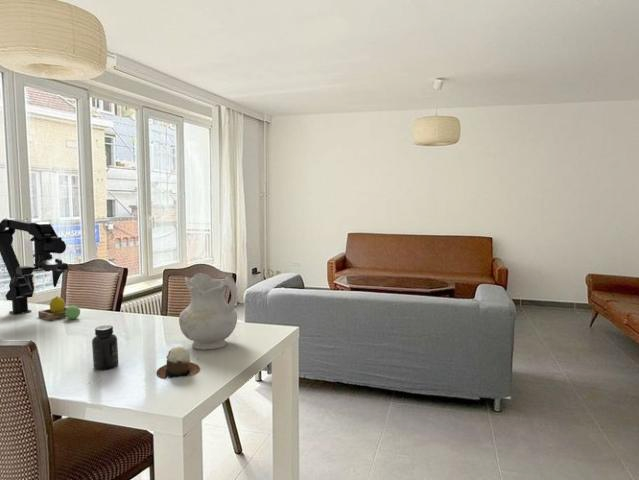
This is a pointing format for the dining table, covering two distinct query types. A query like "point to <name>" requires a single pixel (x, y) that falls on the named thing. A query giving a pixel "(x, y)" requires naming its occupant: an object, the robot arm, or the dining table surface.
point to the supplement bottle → (104, 348)
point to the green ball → (72, 312)
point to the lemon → (57, 305)
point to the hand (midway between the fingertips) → (43, 288)
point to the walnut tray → (51, 314)
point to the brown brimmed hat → (178, 364)
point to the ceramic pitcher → (209, 312)
